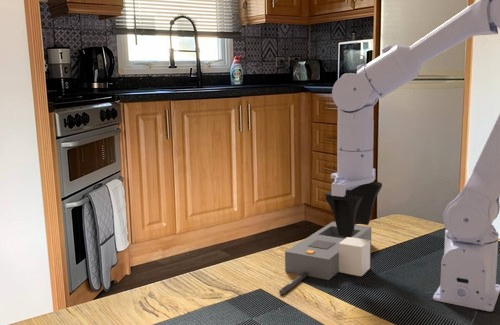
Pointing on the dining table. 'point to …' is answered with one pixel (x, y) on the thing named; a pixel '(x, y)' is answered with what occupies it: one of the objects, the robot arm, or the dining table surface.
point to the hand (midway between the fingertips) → (354, 229)
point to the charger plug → (354, 256)
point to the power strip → (319, 254)
